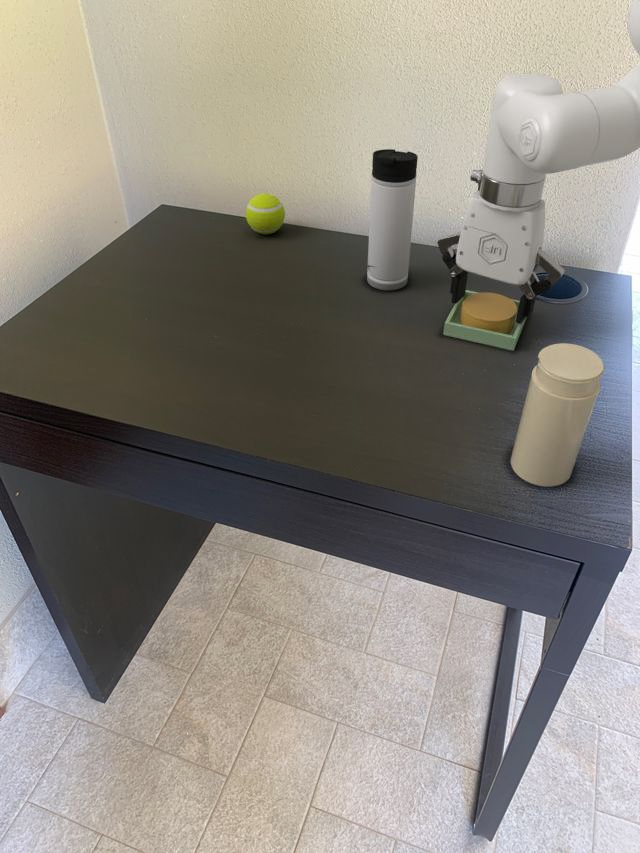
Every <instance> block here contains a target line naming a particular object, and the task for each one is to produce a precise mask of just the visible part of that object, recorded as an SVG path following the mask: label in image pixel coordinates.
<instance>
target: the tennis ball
mask: <svg viewBox="0 0 640 853" xmlns="http://www.w3.org/2000/svg"><path fill="white" fill-rule="evenodd" d="M285 211H286V210H285V207H284V204H283V202H282V201H281V200H280V199H279V198H278V197H276V196H275V195H274V194H271V193H260V194H256V195H255V196H253V197H252V198H251V199H250V200H249V202H248V203H247V205H246V209H245V218H246V219H245V220H246V221H247V224H248V226H249V227H250V228H251V229H252V230H253V231H254V232H256V233H258V234H261V235H271V234H274V233H276V232H277V231H279V230H280V228H281V227H282V225H283V224H284V223H285V217H286V212H285Z"/></svg>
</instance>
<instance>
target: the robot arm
mask: <svg viewBox="0 0 640 853" xmlns="http://www.w3.org/2000/svg"><path fill="white" fill-rule="evenodd" d="M626 21H627V22H626V25H627V32H628V36H629V39H630V42H631V44H632V47H633V48H634V50H635V51H636V53H637V54H638V56H639V57H640V0H632V1H631V5H630V7H629V10H628V13H627V20H626ZM563 92H564V91H563V87H562V85H561V83H560V82H559V81H558V80H557V79H555V78H553V77H552V76H551V77H550V76H548V75H544V74H538V73H530V72H529V73H527V72H526V73H525V72H524V73H515V74H511V75H507V76H504V77H503V78H502V79H500V81H498V83H497V84H496V87H495V89H494V93H493V97H492V105H491V110H490V116H489V117H490V118H489V124H488V129H487V130H488V131H487V136H486V144H485V150H484V158H483V164H482V168H481V169H479V170H477V169H473V170H472V171H471V173H470V181H471V182H475V184H477V190H476V191H474V192H473V193H472V194H471V196H470V199H469V202H468V205H467V208H466V211H465V215H464V218H463V222H462V225H461V229H460V231H457V232H454V233H451V234H450V233H449V234H447V235H443V236H442V237H440V238H439V239H438V240H437V243H436V244H437V246H438V248H439V251H440V254H441V255H442V256H441V257H442V258H441V259H442V261H443V262H444V264H445V266H446V267H447V269H448V270H449V271H448V274H449V276H450V277H451V282H450V290H449V294H450V295H451V299H450V300H451V304H454V305H455V304H456V303H458V302H459V301H460V299H461V298H462V297H463V296H464V295H465V291H466V290H467V284H468V278H469V273H470V274H474V275H477V276H481V277H484V278H487V279H491V280H494V281H498V282H501V283H505V284H509V285H512V286H513V285H514V286H520V288H521V290H522V292H523V295H521V297H520V299H519V301H520V303H519V307H518V312H517V317H516V322H517V323H518V324H521V323H522V322H523V321H524V319H525V318H526V317H527V318H530V317H531V315H532V314H533V312H534V307H535V304H536V300H537V296H539V295H541V294H543V293H545V292H548V290H550V288H551V287H553V286H554V285H555V284H556V283H557V282H558V281H559V280H560V279H561V278H562V277H563V275H564V274H565V268H563V267H562V266H561V265H560V264H559V263H558V261H555V259H553V258H552V257H551V256H550V255H549V254H548V253H547V252H545V251H544V250H543V246H544V238H545V228H546V201H545V199H542V196H543V191H544V186H545V183H546V177H547V175H549V174H556V173H561V172H566V171H571V170H576V169H579V168H581V167H586V166H591V165H597V164H602V163H607V162H613V161H617V160H619V159H621V158H624V157H627V156H629V155H631V154H632V153H634V152H636V151H637V150H638V149H640V60H639V61H638V62H636V64H635V65H634V66H633V67H632V68H631V69H630V70H629V71H628V72H627V73H626V74H625V75H624V76H623V77H622V78H621V79H620V80H618V81H617V82H616V83H615V84H613V85H612V86H605V87H597V88H591V89H586V90H580V91H579V90H578V91H573V92H570V93H569V92H568V93H563ZM455 245H457V248H456V252H455V251H454V250H453V246H455ZM539 267H540V268H541V269H542V270H543V271H545V272H546V273H547V276H546V277H544V278H543V279H541V280H539V278H538V276H537V274H536V272H537V271H538V269H539ZM527 318H526V319H527Z"/></svg>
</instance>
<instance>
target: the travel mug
mask: <svg viewBox="0 0 640 853" xmlns="http://www.w3.org/2000/svg"><path fill="white" fill-rule="evenodd" d="M418 159H419V156H418V155H417V153H415V152H412V151H407V152H406V151H400V150H398V151H397V150H396V149H395V148H394V149H392V148H391V149H390V148H387V149H378V150H375V151H373V152H372V162H371V164H372V165H371V167H372V169H371V175H370V176H371V179H370V201H369V203H370V204H369V222H368V223H369V224H368V225H369V226H368V227H369V228H368V247H367V249H368V251H367V253H368V254H367V270H366V273H367V274H366V275H367V276H366V280H367V284H368V285H369V286H371V287H373V288H374V289H377V290H381V291H387V292H388V291H396V290H400V289H402V288H403V287H405V286H406V285H407V283H408V278H409V267H410V256H411V244H412V231H413V221H414V210H415V209H414V208H415V199H416V198H415V197H416V186H417V176H418V175H417V169H418Z"/></svg>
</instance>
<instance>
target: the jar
mask: <svg viewBox="0 0 640 853" xmlns="http://www.w3.org/2000/svg"><path fill="white" fill-rule="evenodd" d="M537 359H538V360H537V363H536V365H535V366H534V368H533V369H532V371H531V376H530V379H529V383H528V387H527V391H526V395H525V398H524V403H523V407H522V411H521V415H520V419H519V424H518V427H517V431H516V435H515V440H514V444H513V448H512V452H511V456H510V465H511V468H512V470H513V471H514V473H515V474H516V475H517V476H518V477H519V478H521V479H522V480H524V482H528V483H529V484H532V485H535V486H539V487H546V488H547V487H556V486H560V485H562V484H565V483H567V481H569V479H570V478H571V476H572V474H573V470H574V467H575V465H576V462H577V459H578V456H579V452H580V450H581V447H582V444H583V441H584V438H585V435H586V432H587V429H588V426H589V424H590V420H591V417H592V414H593V411H594V409H595V405H596V402H597V400H598V397H599V393H600V391H601V387H602V383H601V377H602V376H603V375H604V372H605V365H604V362H603V360H602V358H601V357H600V356H599V355H598V353H596V352H595V351H593V350H591V349H589V348H587V347H584V346H582V345H578V344H575V343H567V342H566V343H565V342H561V343H554V344H550V345H547V346H546V347H544V348H542V349H541V350H540V351H539V352H538V355H537Z"/></svg>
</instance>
